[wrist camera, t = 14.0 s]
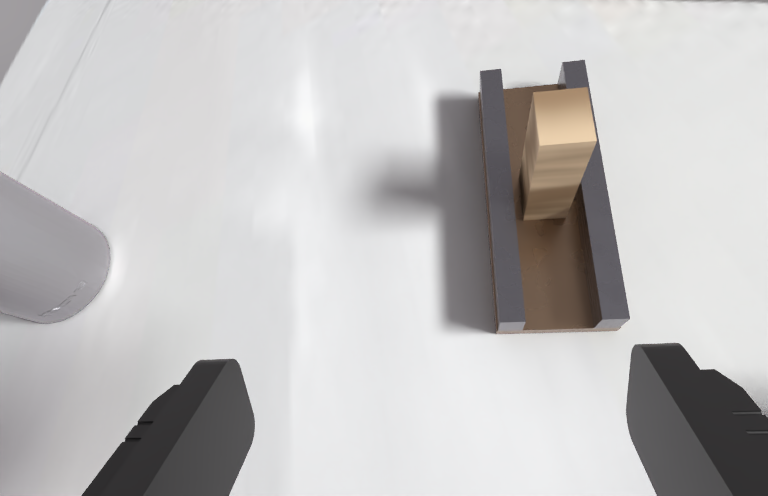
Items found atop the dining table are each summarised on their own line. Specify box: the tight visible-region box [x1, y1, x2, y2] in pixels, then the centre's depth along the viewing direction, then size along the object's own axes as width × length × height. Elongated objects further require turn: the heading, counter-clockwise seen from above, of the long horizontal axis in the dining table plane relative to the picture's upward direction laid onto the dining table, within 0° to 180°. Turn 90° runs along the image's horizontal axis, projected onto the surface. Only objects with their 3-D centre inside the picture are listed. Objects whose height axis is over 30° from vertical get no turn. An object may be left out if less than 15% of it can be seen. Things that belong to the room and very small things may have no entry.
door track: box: [478, 60, 630, 334], centre depth 37 cm, size 20×8×4 cm, turn 0°
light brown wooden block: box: [519, 87, 597, 221], centre depth 33 cm, size 4×3×10 cm
